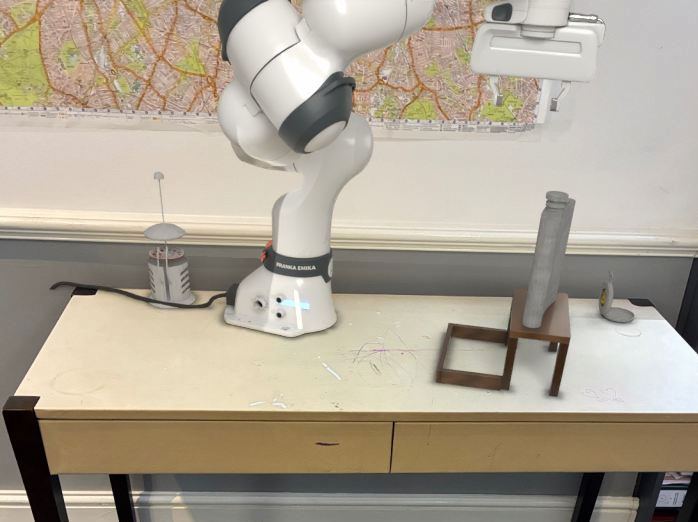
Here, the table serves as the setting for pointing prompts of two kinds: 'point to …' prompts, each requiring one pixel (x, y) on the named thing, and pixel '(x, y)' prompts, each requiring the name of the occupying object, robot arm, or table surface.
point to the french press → (167, 264)
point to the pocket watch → (606, 302)
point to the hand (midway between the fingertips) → (525, 108)
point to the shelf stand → (512, 343)
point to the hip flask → (548, 256)
